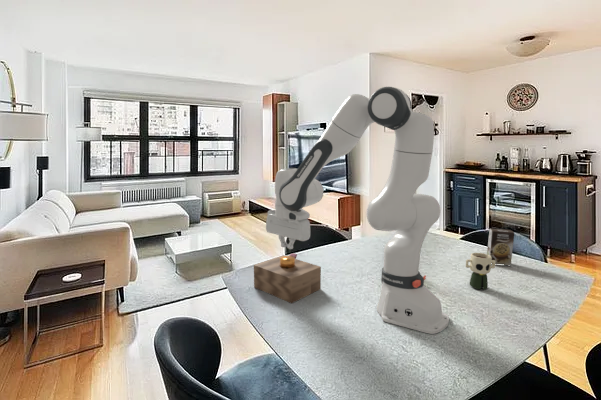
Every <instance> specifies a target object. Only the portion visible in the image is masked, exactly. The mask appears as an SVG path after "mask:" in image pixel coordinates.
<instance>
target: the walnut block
mask: <svg viewBox="0 0 601 400" xmlns="http://www.w3.org/2000/svg"><path fill="white" fill-rule="evenodd" d="M283 256H285V255H284V254H283V255H280V256H276V257H274V258H271V259H267V260H264V261H262V262H259V263H256V264H253V286H254V287H253V288H255V289H257V290H260V291H262V292H264V293H267V294H269V295H271V296H273V297H275V298H278V299H281V300H282V301H285V302H288V303H290V304H294V303H296V302H298V301H299V300H301V299H304V298H306V297H307V296H310V295H312V294H313V293H315V292H317V291H318V292H319V290H321V285H322V283H321V282H322V281H321V277H322V275H321V274H322V271H321V270H322V266H319V265H317V264H315V263H314V264H313V263H310V262H307V261H303V260H300V259H297V258H296V259H295V267H293V268H288V269H286V268H282V267H280V257H283Z"/></svg>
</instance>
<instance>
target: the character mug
mask: <svg viewBox="0 0 601 400" xmlns="http://www.w3.org/2000/svg"><path fill="white" fill-rule="evenodd" d="M491 262H492V263H493V264H492V265H491ZM465 268H469V269H470V271H472V272H471V275H470V279H469V286H470V287H471V288H473V289H477V290H481V289H483V290H487V289H489V288H488V286H489V285H488V284H489V282H488V276H487V274H489V273H490V272H491V270H492V269H495V268H496V265H495V260H492V257H491V256H490V255H488V254H487V253H482V252H472V253H470V259H466V260H465ZM482 287H483V288H482Z"/></svg>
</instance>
